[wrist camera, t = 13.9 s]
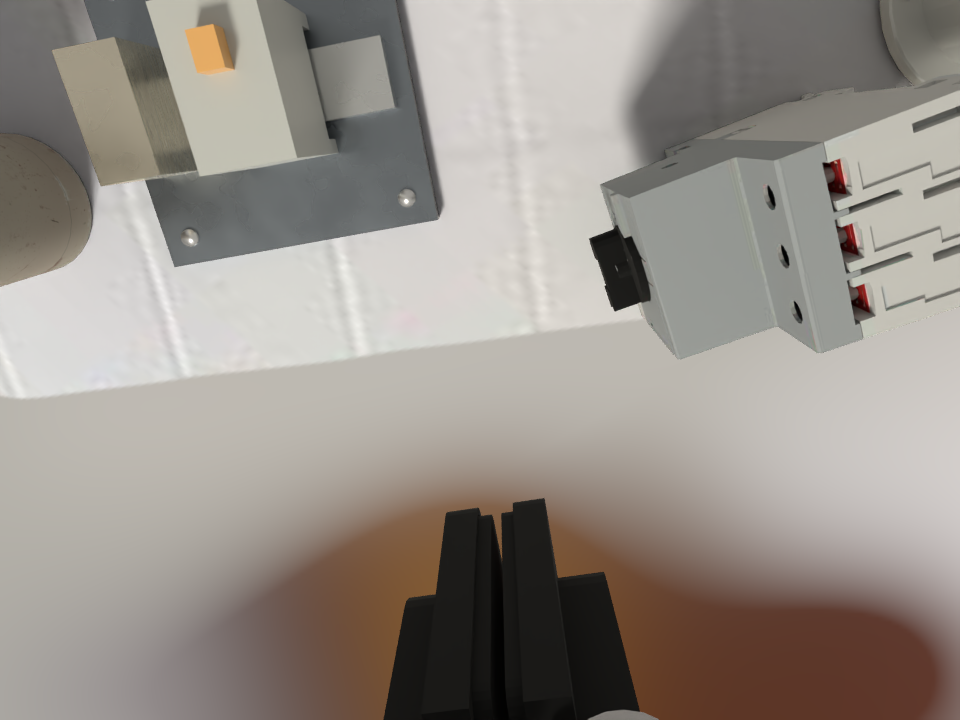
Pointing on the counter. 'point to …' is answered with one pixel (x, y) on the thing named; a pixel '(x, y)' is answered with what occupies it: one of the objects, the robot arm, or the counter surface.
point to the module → (242, 82)
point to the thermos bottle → (38, 209)
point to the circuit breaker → (795, 222)
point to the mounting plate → (267, 190)
